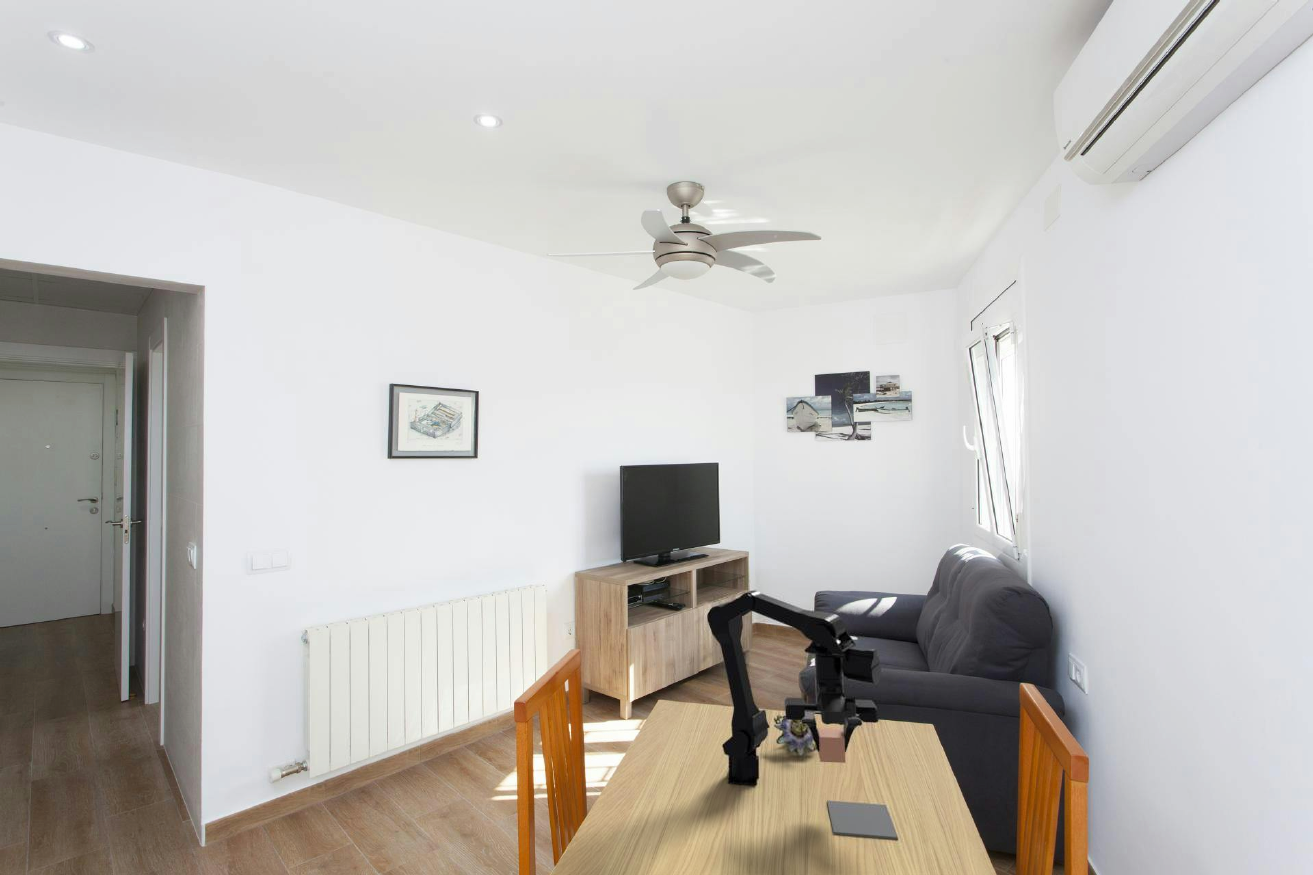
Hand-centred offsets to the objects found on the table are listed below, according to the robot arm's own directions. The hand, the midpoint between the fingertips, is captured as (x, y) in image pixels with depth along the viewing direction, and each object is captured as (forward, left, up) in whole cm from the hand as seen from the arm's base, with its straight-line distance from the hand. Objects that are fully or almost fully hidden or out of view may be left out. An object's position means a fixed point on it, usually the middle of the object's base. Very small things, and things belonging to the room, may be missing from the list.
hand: (831, 751), depth 138 cm
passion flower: (-6, +28, -12) cm, 31 cm away
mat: (+5, -4, -12) cm, 13 cm away
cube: (0, 0, -1) cm, 1 cm away
